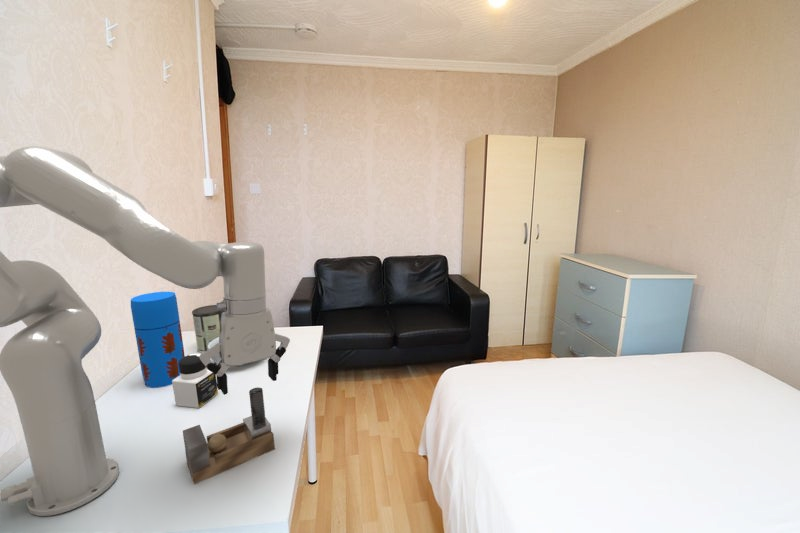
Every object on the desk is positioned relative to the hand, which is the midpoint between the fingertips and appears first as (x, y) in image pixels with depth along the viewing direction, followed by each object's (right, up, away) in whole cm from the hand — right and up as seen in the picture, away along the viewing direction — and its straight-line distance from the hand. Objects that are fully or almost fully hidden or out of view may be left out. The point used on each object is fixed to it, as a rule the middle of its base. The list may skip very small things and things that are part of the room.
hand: (249, 384), depth 75 cm
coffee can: (-35, -4, +54) cm, 64 cm away
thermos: (-38, -9, +32) cm, 50 cm away
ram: (+1, -11, +2) cm, 11 cm away
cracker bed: (-3, -14, -1) cm, 15 cm away
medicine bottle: (-22, -11, +20) cm, 32 cm away
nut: (-5, -13, -2) cm, 14 cm away
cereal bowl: (-21, -6, +42) cm, 48 cm away
